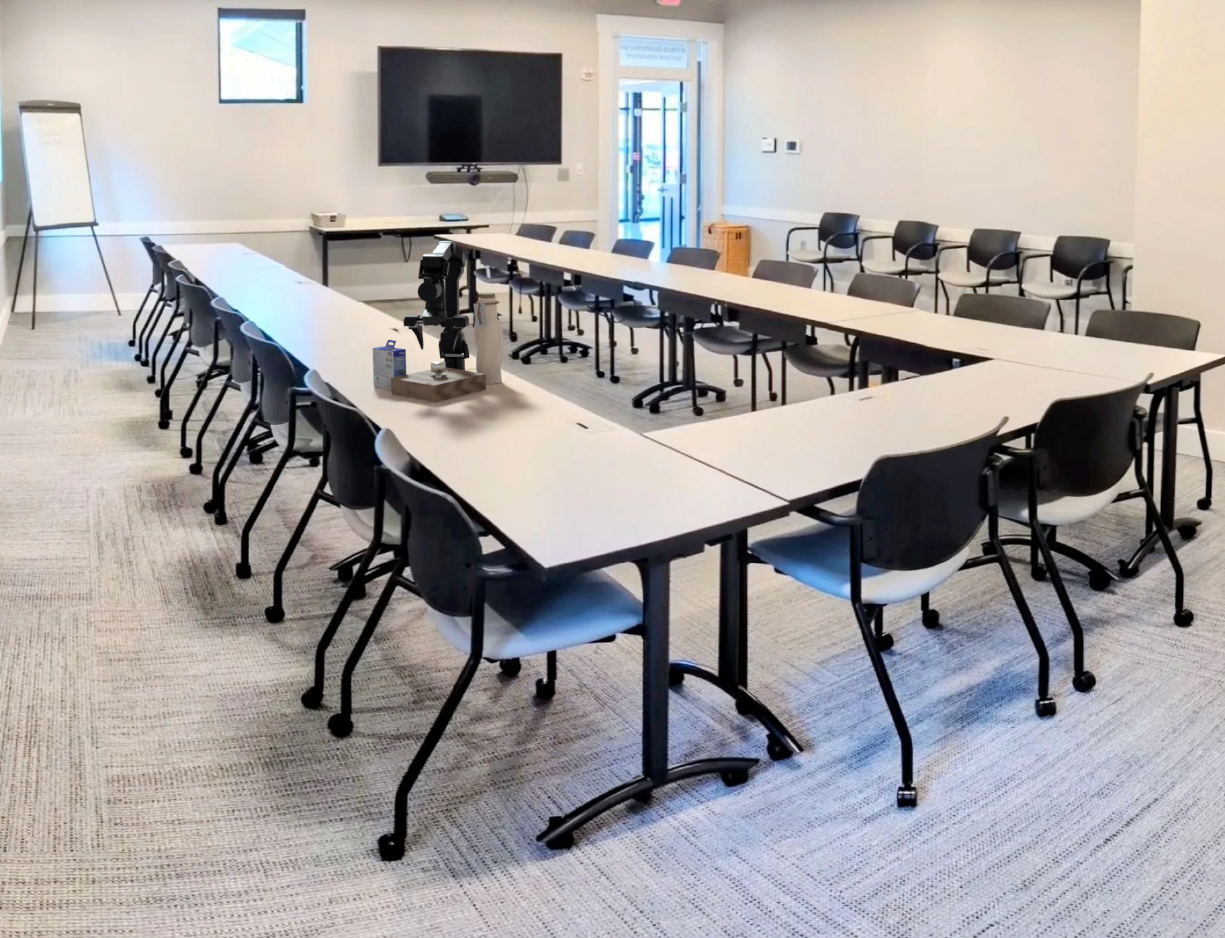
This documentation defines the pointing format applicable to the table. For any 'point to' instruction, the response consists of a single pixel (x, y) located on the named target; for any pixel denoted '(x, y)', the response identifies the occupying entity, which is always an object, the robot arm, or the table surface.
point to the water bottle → (488, 337)
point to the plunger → (438, 368)
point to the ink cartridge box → (388, 364)
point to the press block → (438, 384)
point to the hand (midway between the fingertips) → (437, 349)
